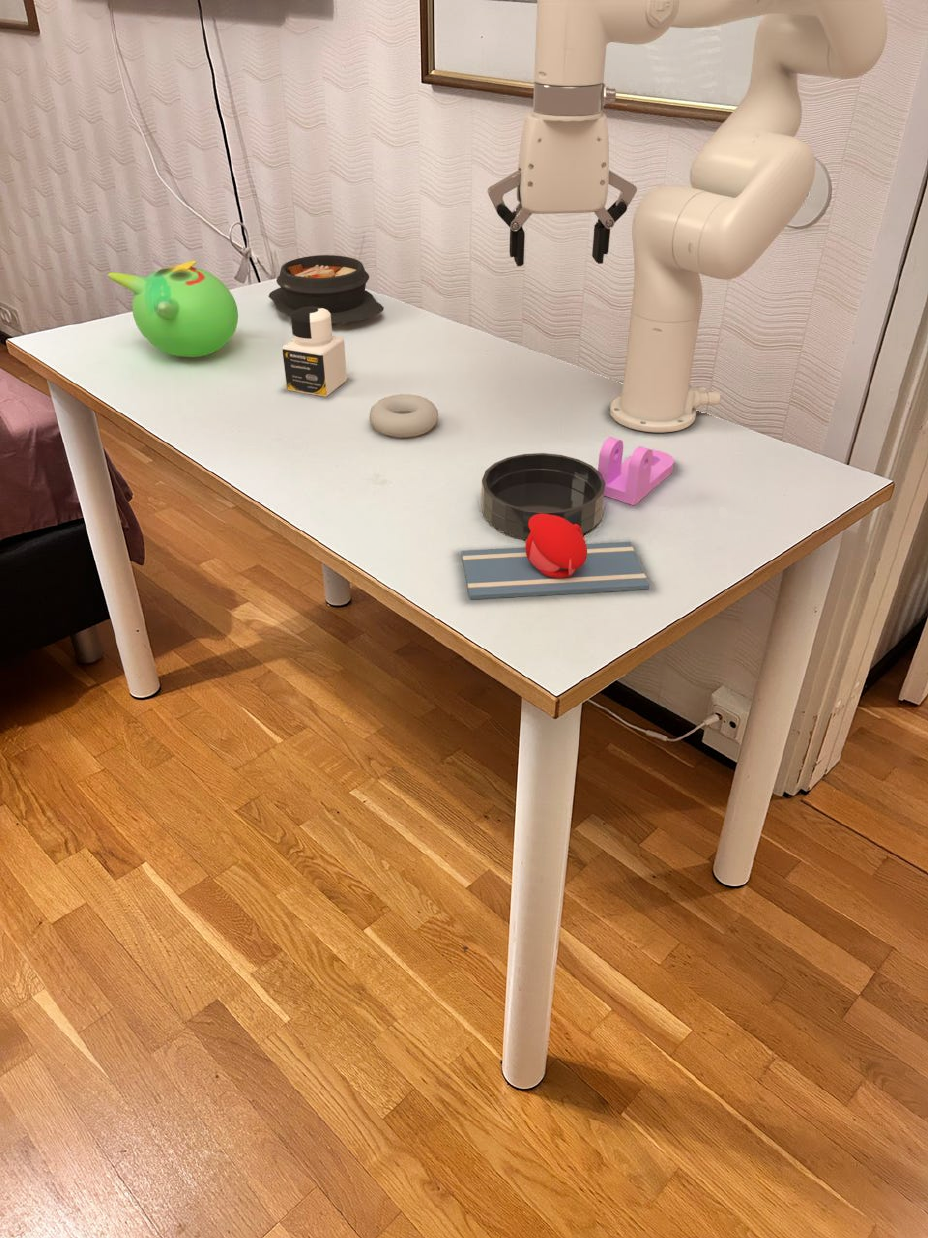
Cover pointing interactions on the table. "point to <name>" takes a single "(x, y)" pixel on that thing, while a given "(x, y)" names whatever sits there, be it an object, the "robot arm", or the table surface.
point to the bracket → (632, 471)
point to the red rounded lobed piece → (555, 545)
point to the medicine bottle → (314, 354)
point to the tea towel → (519, 577)
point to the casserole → (326, 288)
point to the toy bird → (182, 309)
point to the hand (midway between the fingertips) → (558, 261)
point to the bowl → (541, 492)
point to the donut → (403, 415)
